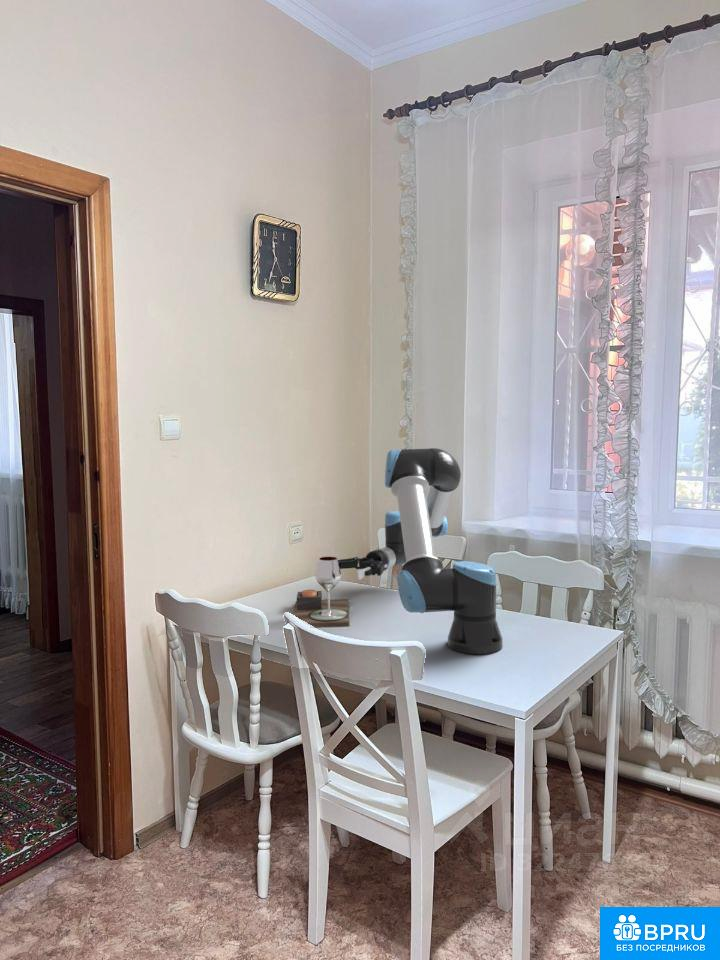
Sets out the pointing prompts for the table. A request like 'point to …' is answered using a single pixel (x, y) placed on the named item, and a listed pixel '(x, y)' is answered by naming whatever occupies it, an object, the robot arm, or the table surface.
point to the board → (312, 606)
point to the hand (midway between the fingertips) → (341, 572)
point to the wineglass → (328, 579)
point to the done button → (309, 593)
